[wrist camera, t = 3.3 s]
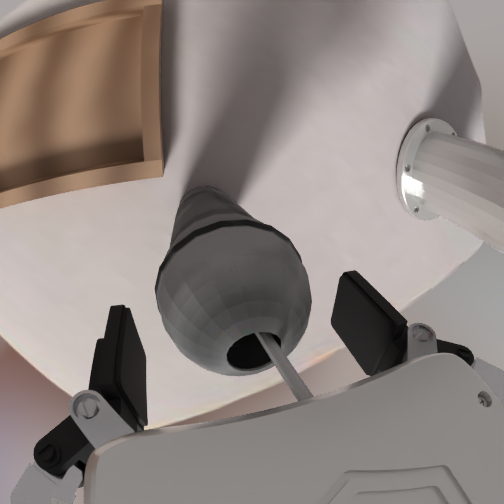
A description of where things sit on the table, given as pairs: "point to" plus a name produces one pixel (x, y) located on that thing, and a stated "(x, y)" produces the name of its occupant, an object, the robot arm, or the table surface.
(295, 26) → the table surface
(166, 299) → the beverage cup
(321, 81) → the table surface
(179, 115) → the table surface
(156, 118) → the walnut tray
